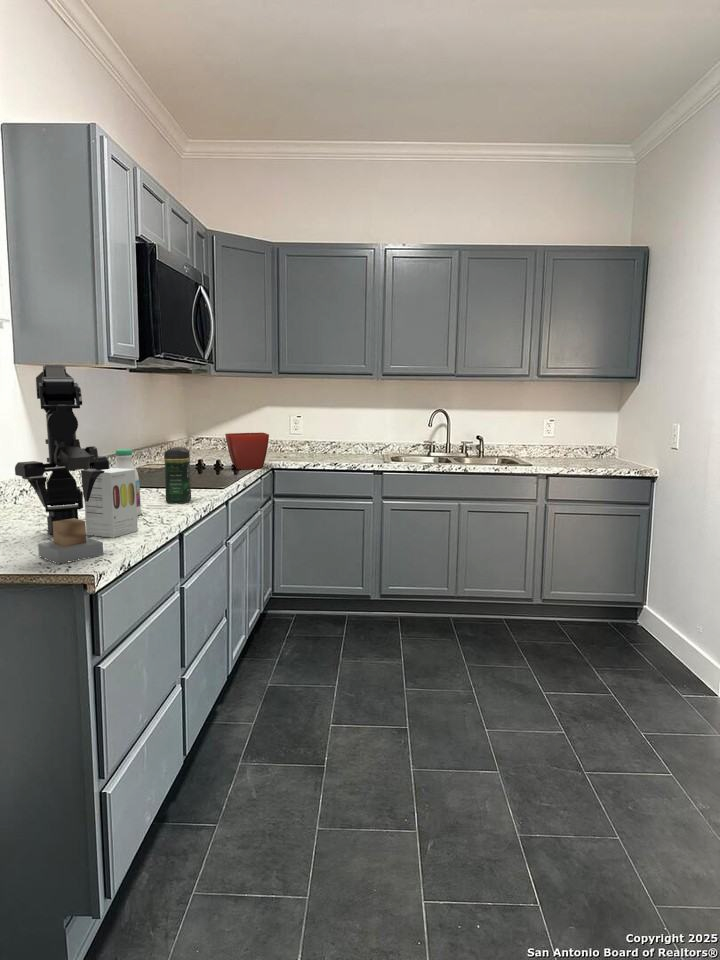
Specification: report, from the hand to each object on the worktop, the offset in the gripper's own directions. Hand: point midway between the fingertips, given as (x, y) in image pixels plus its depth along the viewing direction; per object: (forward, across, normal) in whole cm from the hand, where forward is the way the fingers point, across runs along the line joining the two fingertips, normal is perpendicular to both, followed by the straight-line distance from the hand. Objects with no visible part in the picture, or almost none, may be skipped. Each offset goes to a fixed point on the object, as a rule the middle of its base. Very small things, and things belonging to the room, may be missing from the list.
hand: (66, 504), depth 141 cm
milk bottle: (+12, +33, +33) cm, 48 cm away
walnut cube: (+9, 0, -1) cm, 9 cm away
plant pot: (+13, +134, +99) cm, 168 cm away
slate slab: (+12, 0, -1) cm, 12 cm away
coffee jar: (+12, +57, +42) cm, 72 cm away
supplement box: (+12, +18, +14) cm, 26 cm away
